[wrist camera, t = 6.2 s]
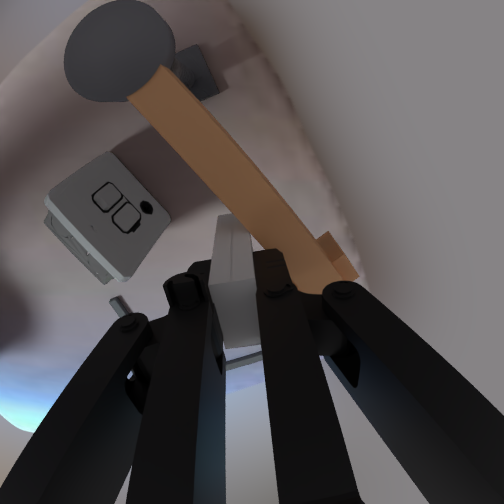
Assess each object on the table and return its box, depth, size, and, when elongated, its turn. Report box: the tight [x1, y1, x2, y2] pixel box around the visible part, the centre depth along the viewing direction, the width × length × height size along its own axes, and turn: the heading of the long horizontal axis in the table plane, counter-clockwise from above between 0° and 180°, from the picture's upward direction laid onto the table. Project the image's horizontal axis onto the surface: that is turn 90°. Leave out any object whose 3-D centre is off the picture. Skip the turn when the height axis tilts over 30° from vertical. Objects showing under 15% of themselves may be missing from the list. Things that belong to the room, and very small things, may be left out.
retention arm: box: [64, 0, 360, 294], centre depth 13 cm, size 17×4×4 cm, turn 39°
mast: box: [170, 44, 219, 101], centre depth 17 cm, size 5×5×14 cm
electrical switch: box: [44, 152, 171, 285], centre depth 24 cm, size 9×5×9 cm, turn 39°
